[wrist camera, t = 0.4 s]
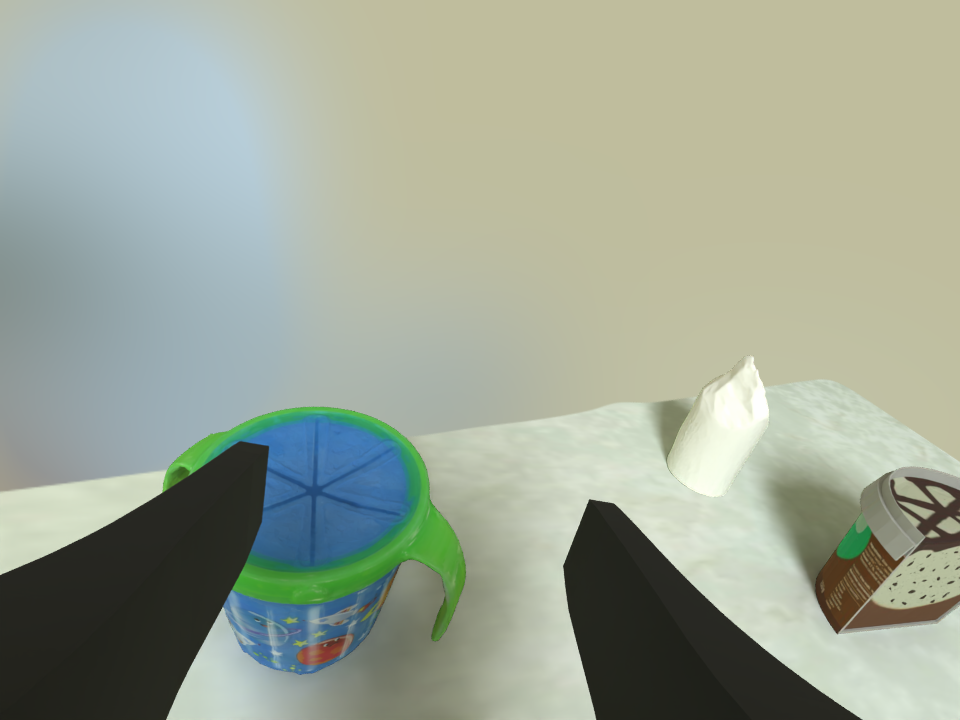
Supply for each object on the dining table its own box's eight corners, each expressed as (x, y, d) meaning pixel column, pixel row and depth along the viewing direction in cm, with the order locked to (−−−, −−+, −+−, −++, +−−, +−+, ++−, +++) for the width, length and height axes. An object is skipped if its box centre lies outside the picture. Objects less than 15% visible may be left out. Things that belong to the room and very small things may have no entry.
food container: (882, 549, 43) (966, 461, 38) (951, 622, 38) (1060, 531, 33) (760, 555, 40) (835, 459, 34) (819, 636, 35) (917, 537, 29)
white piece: (818, 386, 38) (752, 379, 37) (740, 499, 44) (682, 496, 43) (769, 343, 43) (710, 335, 42) (706, 450, 49) (652, 446, 48)
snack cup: (109, 619, 26) (69, 474, 21) (261, 488, 35) (260, 362, 30) (376, 792, 23) (409, 672, 17) (471, 599, 31) (513, 478, 26)
